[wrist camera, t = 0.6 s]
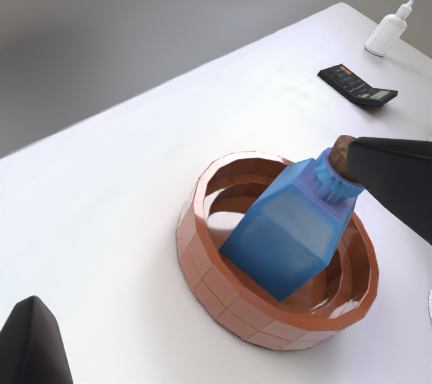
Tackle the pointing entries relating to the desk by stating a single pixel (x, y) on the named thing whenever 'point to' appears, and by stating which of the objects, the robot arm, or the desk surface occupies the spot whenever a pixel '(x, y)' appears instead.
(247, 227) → the perfume bottle
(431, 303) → the canister
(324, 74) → the calculator
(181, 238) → the bowl
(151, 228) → the desk surface
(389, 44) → the eye dropper bottle
